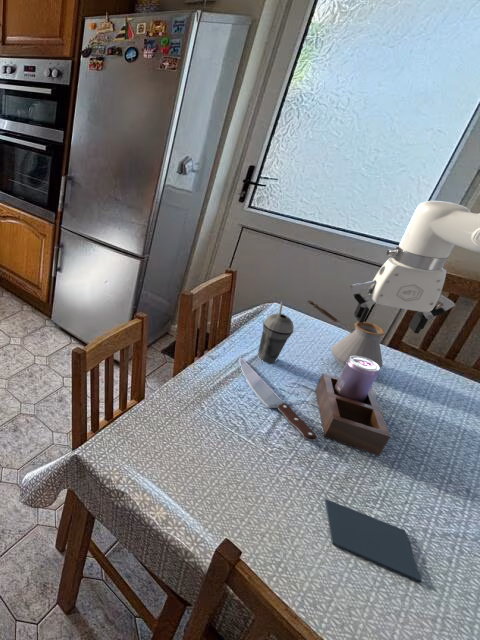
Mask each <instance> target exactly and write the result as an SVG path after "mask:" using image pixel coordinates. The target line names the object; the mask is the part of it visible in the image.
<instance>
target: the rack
mask: <svg viewBox="0 0 480 640" xmlns="http://www.w3.org/2000/svg"><path fill="white" fill-rule="evenodd" d="M339 377H340V376H336V375H333V374H329V373H325V372H322V374H321V376H320V378H319V380H318V383H317V385H316V386H315V389H314V390H315V391H314V392H315V395H316V401H317V406H318V411H319V416H320V421H321V427H322V432H323V437H324V438H327V439H329V440H332V441H335V442H338V443H341V444H343V445H347V446H350V447H353V448H355V449H359V450H361V451H365V452H368V453H370V454H374V455H377V456H380V455H381V454H382V452H383V450H384V449H385V447H386V445H387V444H388V442H389V441H390V439H391V435H390V431H389V429H388V426H387V424H386V423H387V422H386V421H385V418H384V415H383V413H382V411H381V407H380V405H379V402H378V399H377V396H376V394H375V391H374V389H373V386H372V387H371V389H370V391H369V393H368V395H367V397H366V398H365V400H364V402H363V403H361V402H358V401H355V400H351V399H348V398H344V397H341V396H338V395H335V394H334V390H333V389H334V387H335V385H336V383H337V381H338V379H339Z"/></svg>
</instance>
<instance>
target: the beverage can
mask: <svg viewBox="0 0 480 640" xmlns="http://www.w3.org/2000/svg"><path fill="white" fill-rule="evenodd" d="M380 370H381V368H380V367H379V365H378V364H377V363H375V362H374V361H372V360H370V359H367V358H365V357H361V356H351V357H350V358H349V359H348V360H347V362H346V364H345V366H343V368H342V370H341V372H340V374H339V376H338V377H339V379H338V381H337V383H336V385H335V387H334V389H333V390H334V394H335V395H338V396H341V397H344V398H348V399H351V400H355V401H358V402H361V403H363V402H364V400H365V398H366V397H367V395H368V393H369V391H370V389H371V387H372V388H373V385H374V383H375V382H376V379H377V378H378V376H379V374H380Z"/></svg>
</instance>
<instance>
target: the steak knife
mask: <svg viewBox="0 0 480 640" xmlns="http://www.w3.org/2000/svg"><path fill="white" fill-rule="evenodd" d="M239 362H240V364H241V365H240V366H241V370H242V372H243V375H244V376H245V378H246V380H245V381H246V383H247V385H248V386H249V388H250V389H251V391H252V392H253V393H254V394H255V396H256V397H257V398H258V399H259V400H260V401H261V402H262V405H264V406H265V407H266V408H267V409H277V410H278V412H279V413H280V414H281V415H282V416H283V417H284V418H285V419H286V421H287V422H288V423H289V424H290V426H292V427H293V428H294V429H295V430H297V432H299V433H300V435H301V436H302V438H303V439H304V440H306V441H310V442H314V441H316V440H317V435H316V433H315V432H314V431H313V430H312V429H311V427H309V426H308V425H307V423H306V422H305V421H304V420H303V419H302V418H301V417H300V416H299V415H298V414H297V413H296V412H295V411H294V410H293V409H292V407H291V406H290V405H289V404H287V403H286V402H285V401H284V400H283V399H281V398H280V397H279V396H278V394H277V393H275V391H274V390H273V389H272V388H271V387H270V385H268V384H267V383H266V382H265V381H264V379H262V378H261V376H260V375H259V374H258V373H257V372H256V371H255V370H254V369H253V368H252V367H251V365H250V364H249V363H247V361H245V359H243V358H242V357H241V356H240V357H239V359H238V363H239ZM241 370H240V371H241ZM242 372H241V373H242ZM243 375H242V376H243ZM245 378H244V379H245Z"/></svg>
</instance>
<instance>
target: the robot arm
mask: <svg viewBox="0 0 480 640" xmlns="http://www.w3.org/2000/svg"><path fill="white" fill-rule="evenodd" d="M455 246H458V247H460V248H463V249H465V250H469V251H472V252H475V253H479V254H480V213H477V212H476V213H474V212H471V210H470V209H469V208H468V207H466V206H464V205H462V204H458V203H455V202H451V201H450V202H449V201H443V200H427V201H422V202H421V203H419V204H418V205H417V206H416V209H415V210H414V212H413V215H412V217H411V218H410V221H409V223H408V225H407V227H406V229H405V232H404V233H403V236H402V237H401V240H400V242H399V244H398V245H396V248H395V249H387V251H386V256H390V257H388V258H387V260H386V261H385V262H384V263H383V264H382V266H381V267H380V268H379V269H378V271H377V272H376V274H375V276H374V278H373V279H372V281H365V282H361V283H353V284H351V285H350V286H349V287H350V291H351V293H352V297H353V298H354V299H355V300H356V302H357V303H358V304H357V306H356V309H355V310H354V312H353V315H354V317H355V318H356V320H357V322H360V323H362V322H365V320H366V318H367V316H368V314H369V311H370V306H373V305H375V304H377V305H379V306H380V305H381V306H384V307H390V308H394V309H395V308H397V309H401V310H408V311H413V312H414V315H413V316H412V319H411V321H410V322H409V324H408V327H409V328H410V330H411V331H412V332H413V333H414V334H420V332H421V331H422V330H423V329H424V328H425V326H426V325H427V323H428V321H429V320H433V318H434V317H437V316H441V315H443V314H444V313H446V311H448V310H451V309H452V308H453V307H455V306H456V303H454V301H452V300H451V299H449V298H448V297H446V296H444V295H443V294H442V291H443V288H444V285H445V282H446V276H447V269H445V268H444V266H445V264H446V262H447V260H448V258H449V256H450V254H451V252H452V251H453V249H454V247H455ZM366 290H367V294H365V295H362V294H361V292H362V291H366ZM438 302H439V304H438Z"/></svg>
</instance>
